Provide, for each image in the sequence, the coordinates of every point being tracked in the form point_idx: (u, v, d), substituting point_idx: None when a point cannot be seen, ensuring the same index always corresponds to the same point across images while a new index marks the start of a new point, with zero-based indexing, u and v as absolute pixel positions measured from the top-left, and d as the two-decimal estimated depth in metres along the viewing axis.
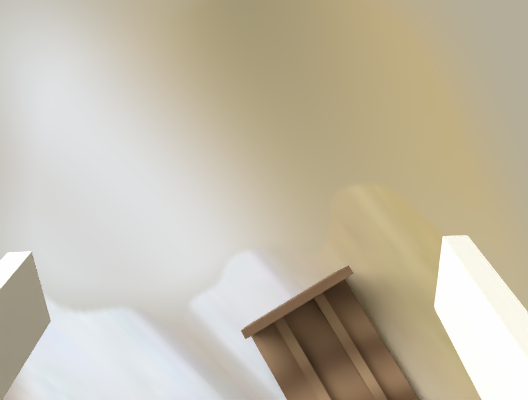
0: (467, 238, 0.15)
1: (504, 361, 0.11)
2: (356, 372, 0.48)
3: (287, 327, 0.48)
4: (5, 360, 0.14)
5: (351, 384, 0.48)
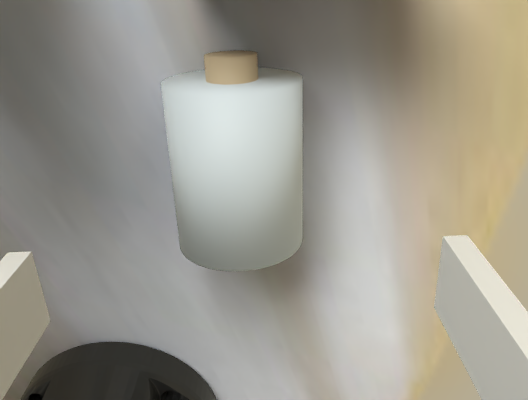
0: (467, 238, 0.15)
1: (504, 361, 0.11)
2: None
3: None
4: (4, 361, 0.14)
5: None
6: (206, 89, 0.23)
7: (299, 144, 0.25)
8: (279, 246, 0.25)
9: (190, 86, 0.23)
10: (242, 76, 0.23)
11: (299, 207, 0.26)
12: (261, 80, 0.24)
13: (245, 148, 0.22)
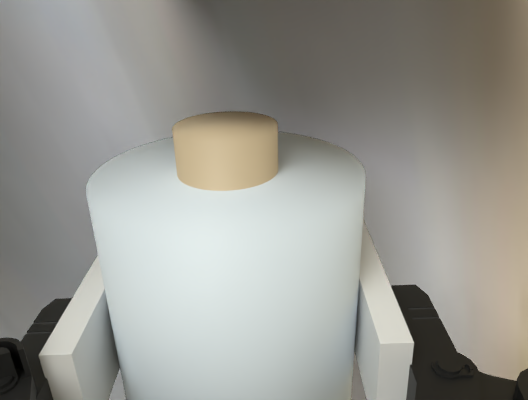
0: None
1: (362, 318, 0.13)
2: None
3: None
4: None
5: None
6: (228, 213, 0.10)
7: None
8: None
9: (179, 208, 0.11)
10: (269, 167, 0.12)
11: None
12: (287, 166, 0.13)
13: (323, 312, 0.11)
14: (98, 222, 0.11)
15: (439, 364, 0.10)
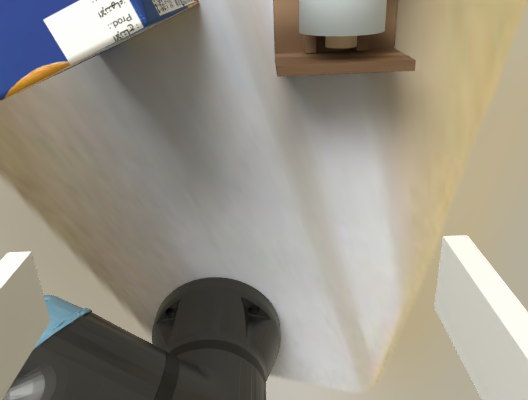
0: (467, 238, 0.15)
1: (504, 361, 0.11)
2: None
3: None
4: (4, 361, 0.14)
5: None
6: None
7: None
8: (384, 19, 0.39)
9: None
10: None
11: None
12: None
13: None
14: None
15: None
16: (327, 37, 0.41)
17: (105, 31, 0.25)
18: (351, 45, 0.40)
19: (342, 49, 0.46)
